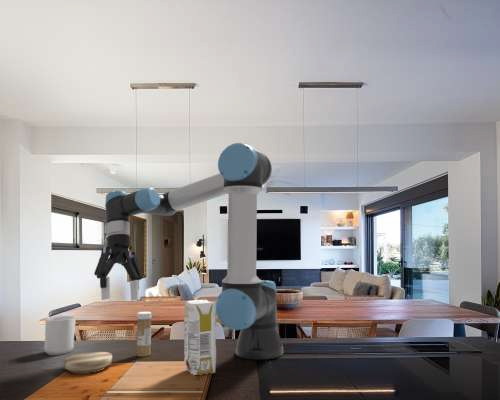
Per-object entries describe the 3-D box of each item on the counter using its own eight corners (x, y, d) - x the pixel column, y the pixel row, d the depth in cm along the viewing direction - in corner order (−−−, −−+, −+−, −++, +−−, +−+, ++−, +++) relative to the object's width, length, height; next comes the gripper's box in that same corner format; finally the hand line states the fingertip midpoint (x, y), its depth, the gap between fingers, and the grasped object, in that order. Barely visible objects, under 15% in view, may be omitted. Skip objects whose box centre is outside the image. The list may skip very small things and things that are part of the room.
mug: (62, 356, 131) (63, 320, 133) (38, 355, 133) (39, 320, 134) (84, 347, 143) (85, 314, 144) (62, 346, 145) (63, 314, 146)
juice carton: (192, 378, 107) (192, 304, 109) (182, 369, 114) (182, 300, 117) (218, 373, 110) (218, 302, 112) (207, 365, 118) (206, 298, 120)
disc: (117, 369, 116) (118, 358, 116) (68, 378, 108) (69, 366, 109) (105, 359, 126) (105, 349, 127) (59, 367, 119) (59, 356, 119)
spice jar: (133, 355, 131) (134, 312, 132) (145, 352, 134) (145, 310, 136) (142, 357, 128) (142, 313, 129) (154, 354, 131) (154, 311, 133)
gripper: (133, 243, 150) (137, 302, 143) (81, 232, 128) (82, 300, 121) (150, 239, 147) (154, 298, 141) (99, 226, 126) (101, 296, 119)
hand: (121, 299), depth 131 cm, fingers open, 13 cm apart
